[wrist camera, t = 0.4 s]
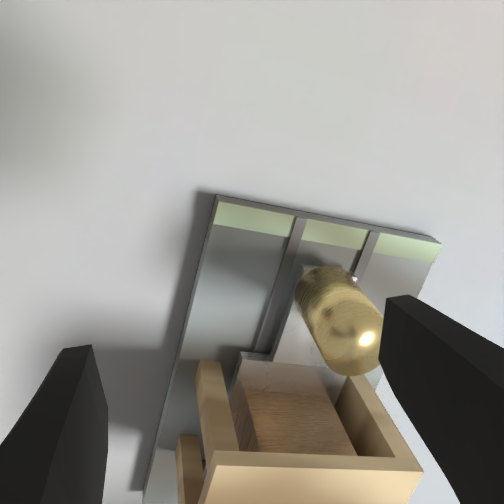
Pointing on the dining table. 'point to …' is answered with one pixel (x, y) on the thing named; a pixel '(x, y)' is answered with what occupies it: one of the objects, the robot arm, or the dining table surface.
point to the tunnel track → (261, 341)
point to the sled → (306, 367)
